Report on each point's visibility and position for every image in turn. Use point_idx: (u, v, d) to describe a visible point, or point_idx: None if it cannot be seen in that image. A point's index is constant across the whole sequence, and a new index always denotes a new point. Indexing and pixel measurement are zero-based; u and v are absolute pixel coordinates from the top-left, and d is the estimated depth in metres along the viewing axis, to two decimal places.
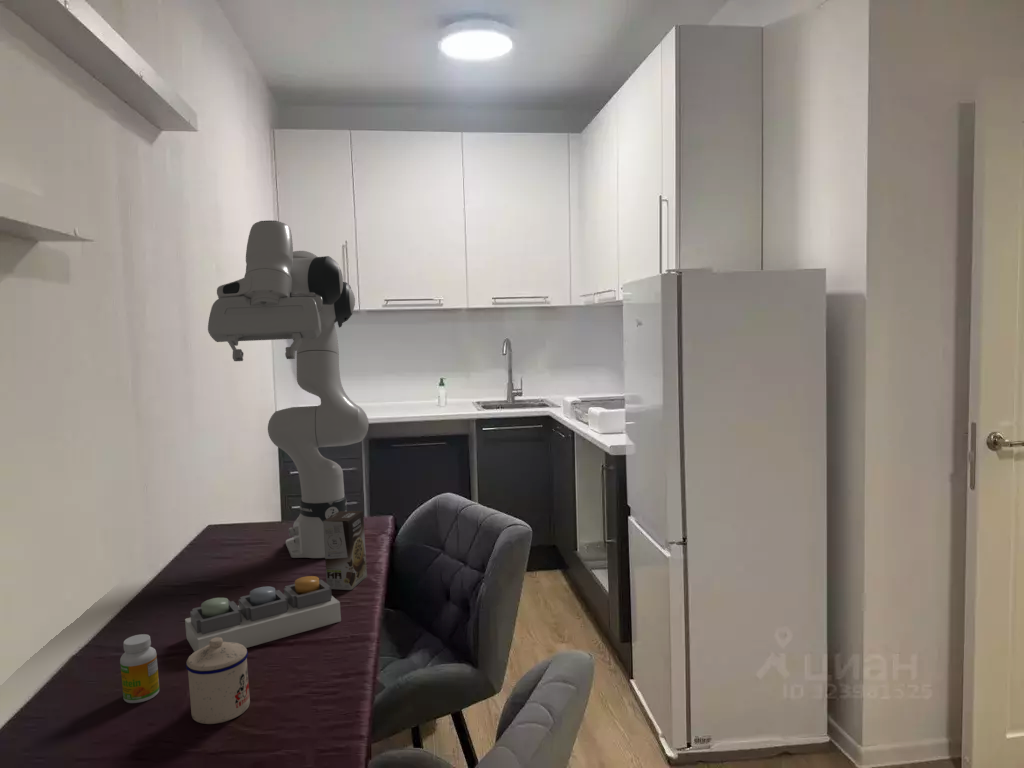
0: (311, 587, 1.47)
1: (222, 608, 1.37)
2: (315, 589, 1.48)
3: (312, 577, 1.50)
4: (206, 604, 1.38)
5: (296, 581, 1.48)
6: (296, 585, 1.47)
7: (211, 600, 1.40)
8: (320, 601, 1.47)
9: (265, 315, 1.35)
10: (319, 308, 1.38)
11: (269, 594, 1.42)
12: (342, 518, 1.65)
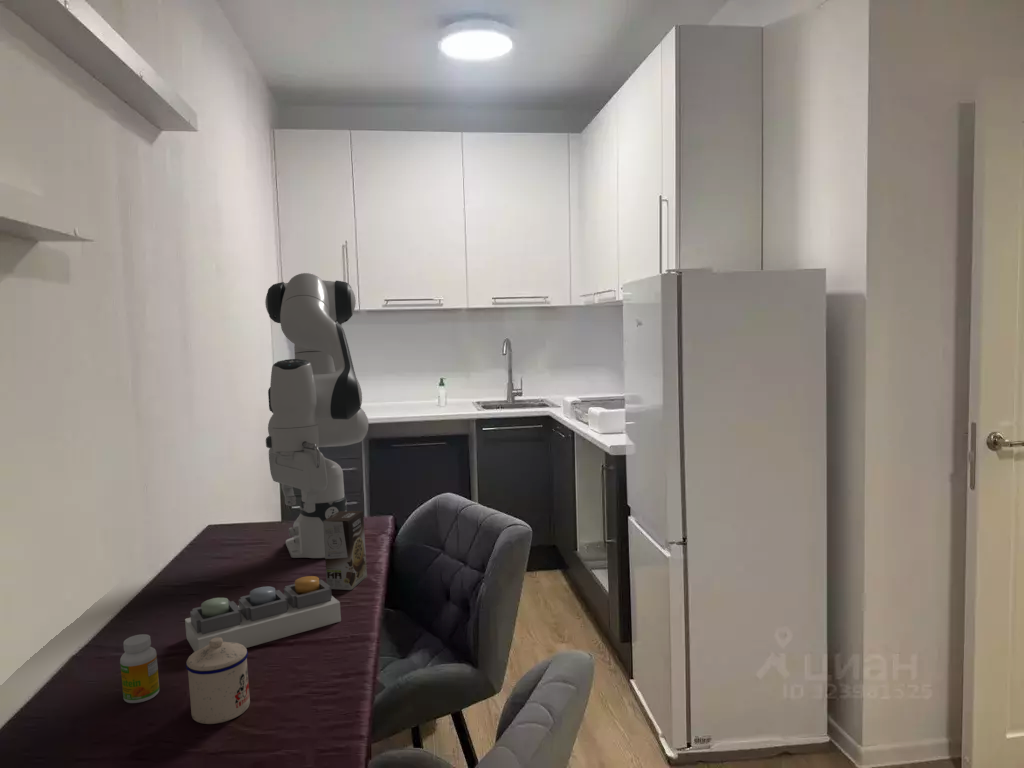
0: (311, 587, 1.47)
1: (222, 608, 1.37)
2: (315, 589, 1.48)
3: (312, 577, 1.50)
4: (206, 604, 1.38)
5: (296, 581, 1.48)
6: (296, 585, 1.47)
7: (211, 600, 1.40)
8: (320, 601, 1.47)
9: (289, 469, 1.44)
10: (316, 464, 1.37)
11: (269, 594, 1.42)
12: (342, 518, 1.65)
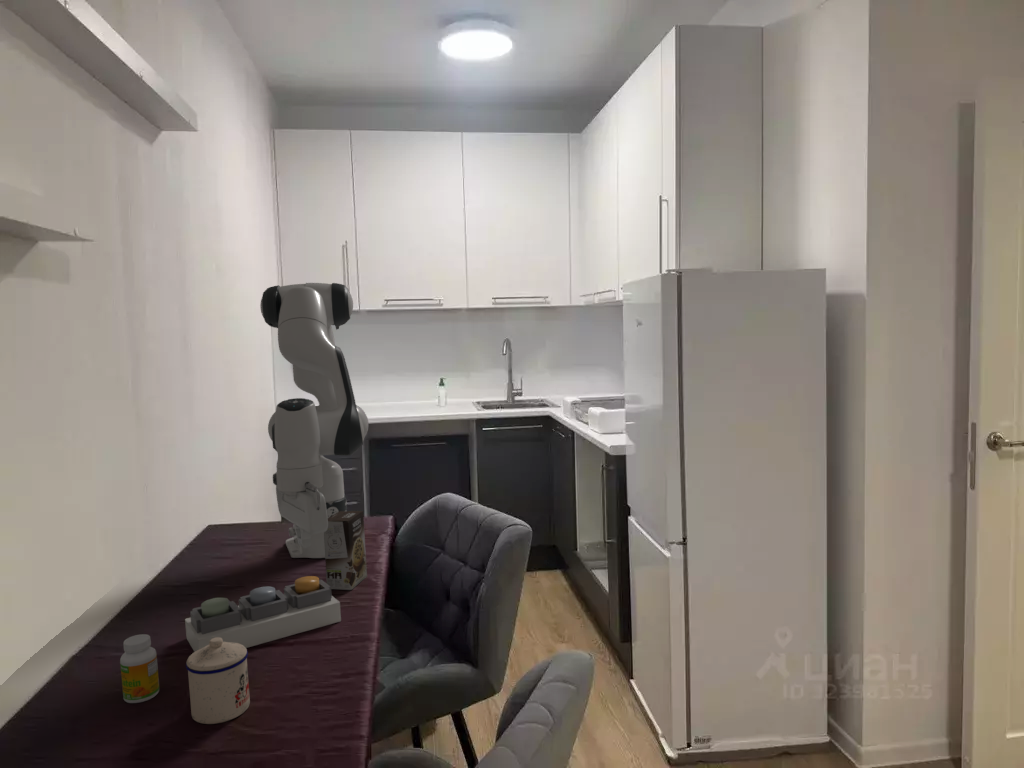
0: (311, 587, 1.47)
1: (222, 608, 1.37)
2: (315, 589, 1.48)
3: (312, 577, 1.50)
4: (206, 604, 1.38)
5: (296, 581, 1.48)
6: (296, 585, 1.47)
7: (211, 600, 1.40)
8: (320, 601, 1.47)
9: (293, 508, 1.46)
10: (316, 506, 1.39)
11: (269, 594, 1.42)
12: (342, 518, 1.65)
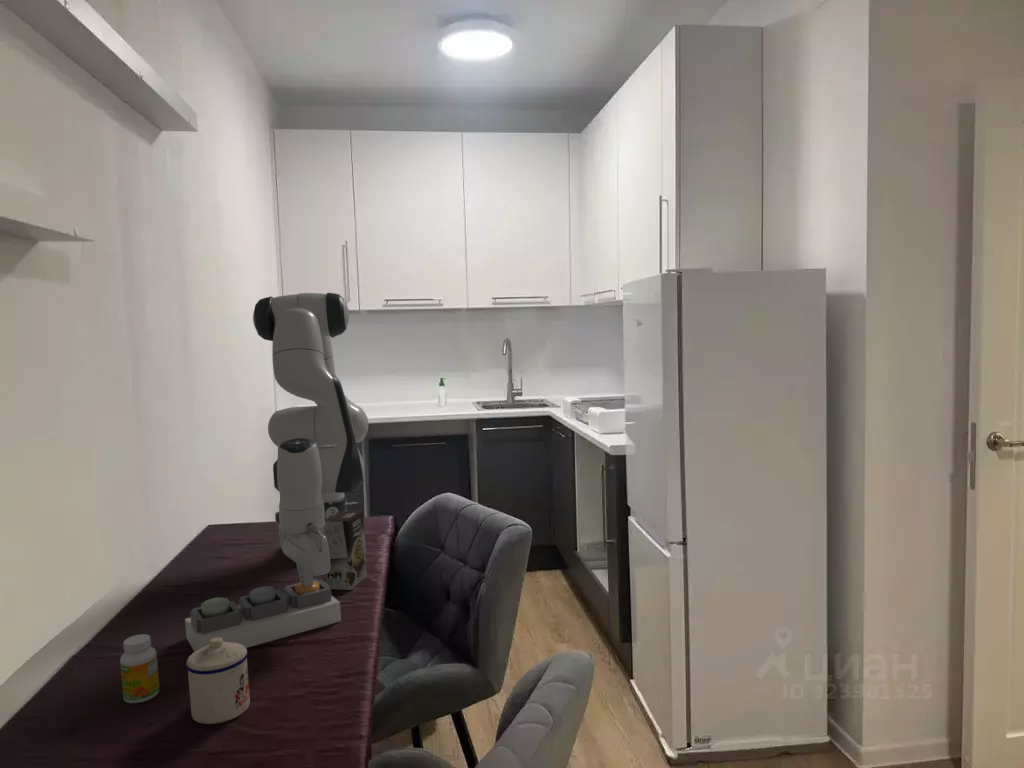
0: None
1: (222, 608, 1.37)
2: None
3: None
4: (206, 604, 1.38)
5: (296, 586, 1.48)
6: (296, 590, 1.47)
7: (211, 600, 1.40)
8: (320, 601, 1.47)
9: (296, 548, 1.47)
10: (318, 549, 1.40)
11: (269, 594, 1.42)
12: (342, 518, 1.65)
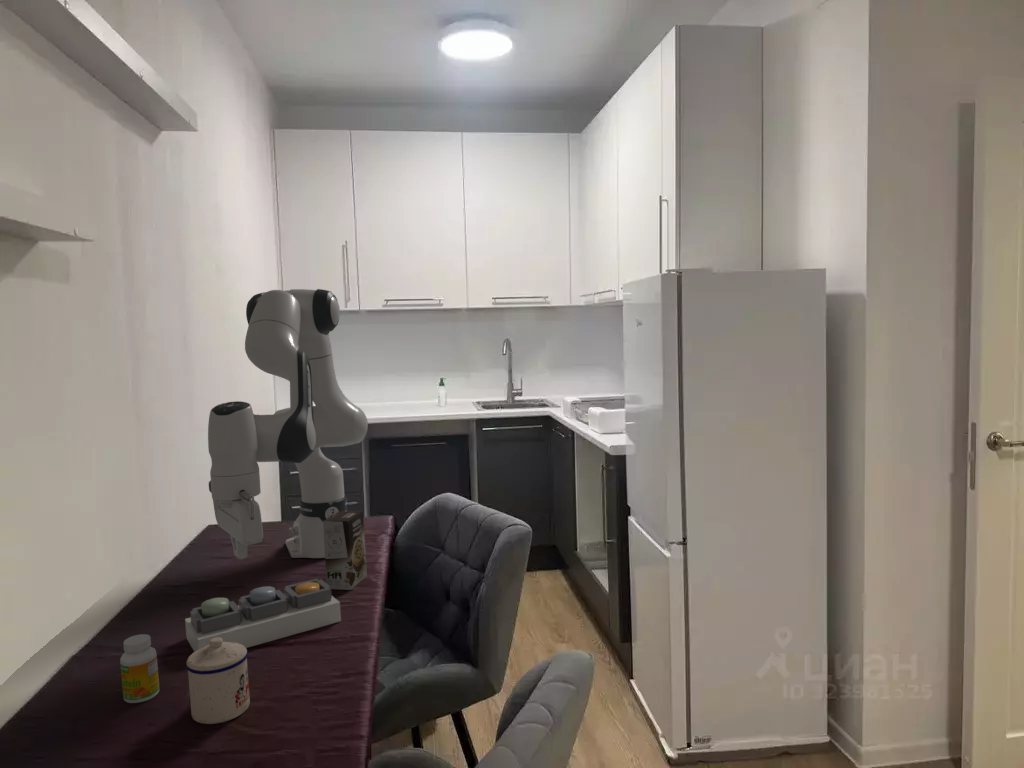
0: None
1: (222, 608, 1.37)
2: None
3: (312, 583, 1.50)
4: (206, 604, 1.38)
5: (296, 587, 1.48)
6: (296, 591, 1.47)
7: (211, 600, 1.40)
8: (320, 601, 1.47)
9: (228, 517, 1.39)
10: (250, 516, 1.31)
11: (269, 594, 1.42)
12: (342, 518, 1.65)
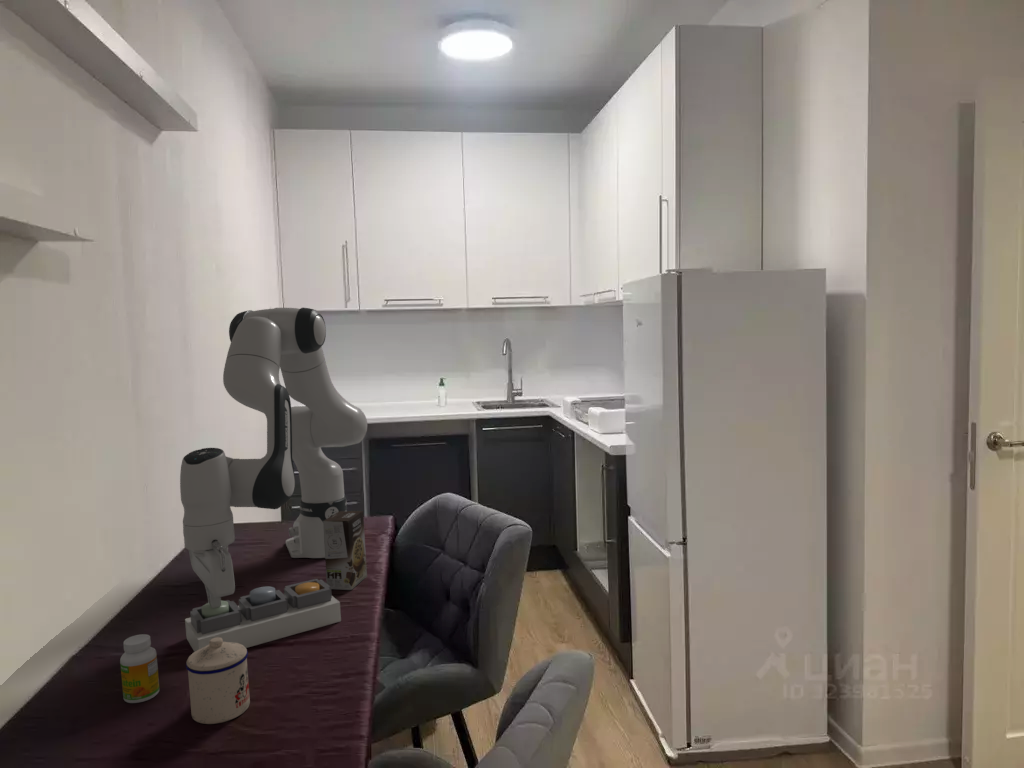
0: None
1: (222, 611, 1.37)
2: None
3: (312, 583, 1.50)
4: (206, 607, 1.38)
5: (296, 587, 1.48)
6: (296, 591, 1.47)
7: None
8: (320, 601, 1.47)
9: (202, 566, 1.37)
10: (221, 568, 1.29)
11: (269, 594, 1.42)
12: (342, 518, 1.65)
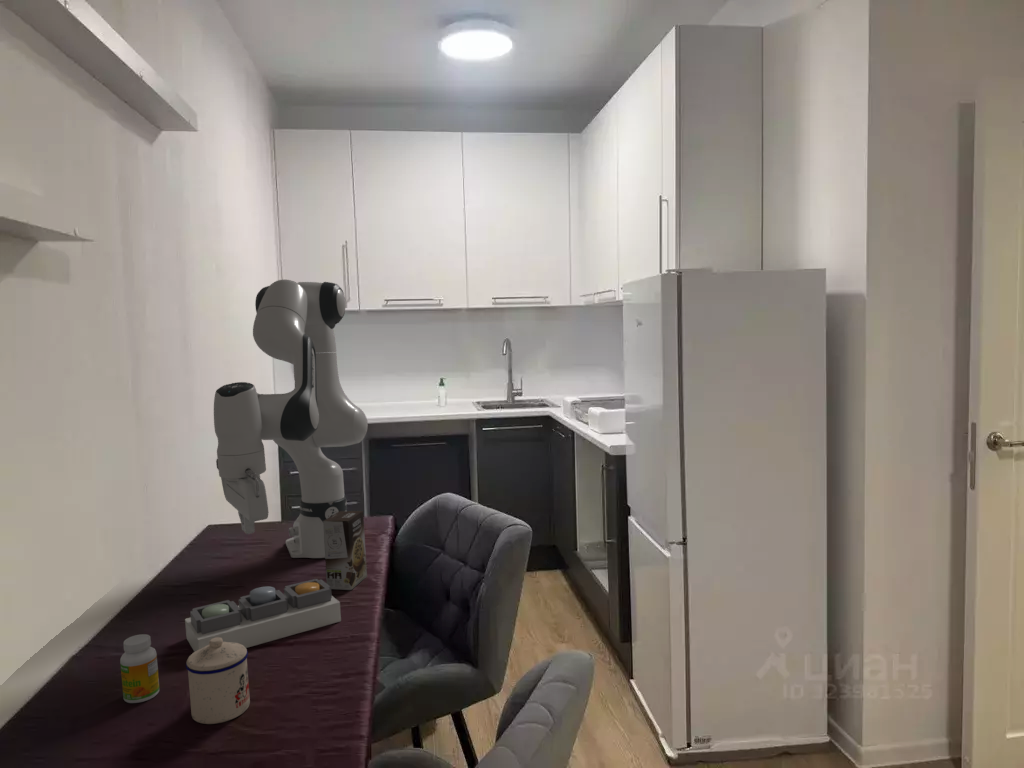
0: None
1: None
2: None
3: (312, 583, 1.50)
4: (207, 611, 1.38)
5: (296, 587, 1.48)
6: (296, 591, 1.47)
7: (211, 606, 1.40)
8: (320, 601, 1.47)
9: (235, 494, 1.44)
10: (255, 494, 1.36)
11: (269, 594, 1.42)
12: (342, 518, 1.65)
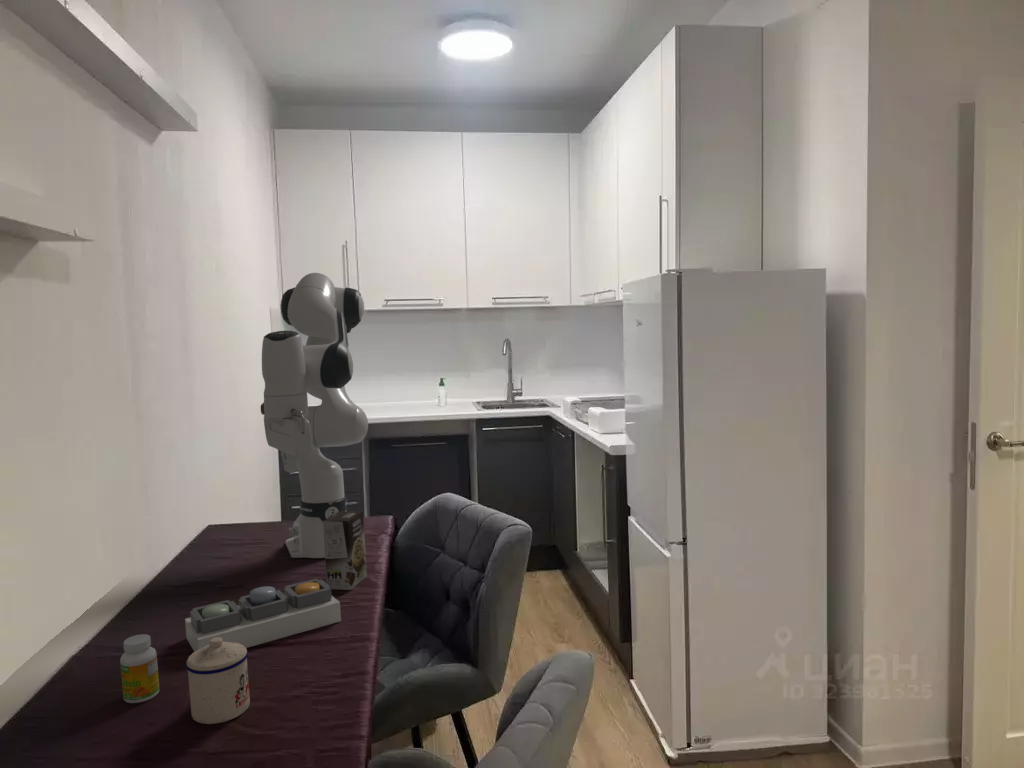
0: None
1: None
2: None
3: (312, 583, 1.50)
4: (207, 611, 1.38)
5: (296, 587, 1.48)
6: (296, 591, 1.47)
7: (211, 606, 1.40)
8: (320, 601, 1.47)
9: (280, 435, 1.53)
10: (301, 430, 1.46)
11: (269, 594, 1.42)
12: (342, 518, 1.65)
